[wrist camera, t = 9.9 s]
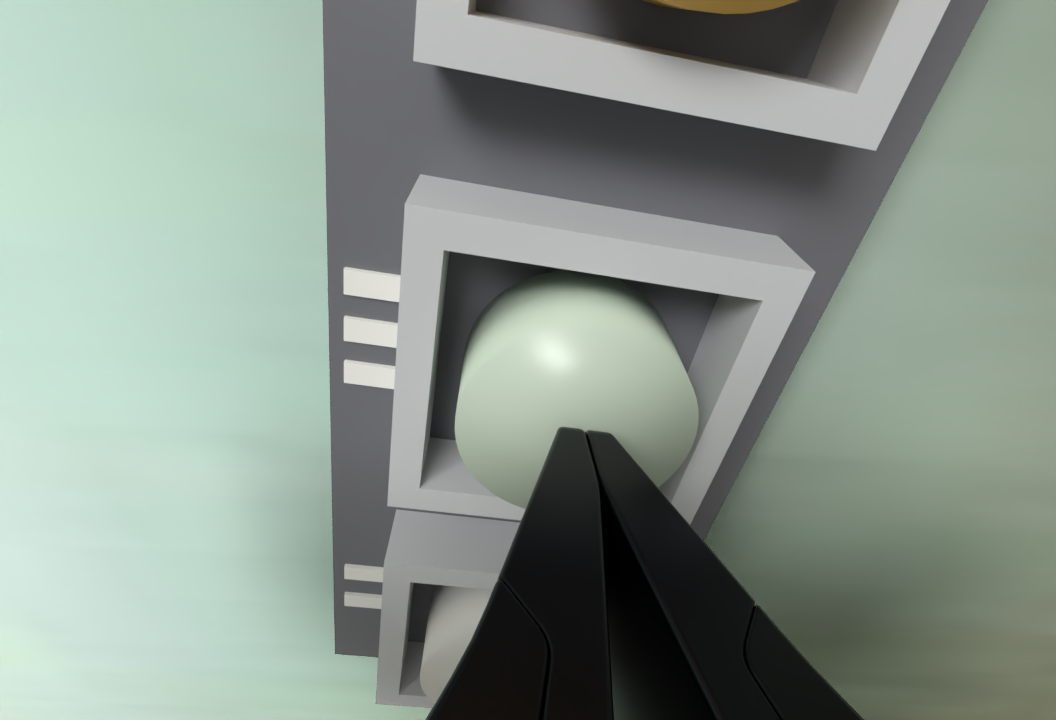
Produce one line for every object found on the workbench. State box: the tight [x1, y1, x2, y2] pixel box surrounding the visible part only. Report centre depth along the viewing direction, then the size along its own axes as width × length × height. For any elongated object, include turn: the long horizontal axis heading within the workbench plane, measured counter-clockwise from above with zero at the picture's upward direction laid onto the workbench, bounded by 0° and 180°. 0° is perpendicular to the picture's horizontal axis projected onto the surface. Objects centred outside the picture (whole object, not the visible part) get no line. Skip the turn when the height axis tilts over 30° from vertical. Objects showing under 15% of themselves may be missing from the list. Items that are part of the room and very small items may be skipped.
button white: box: [420, 585, 492, 703], centre depth 14 cm, size 4×4×2 cm
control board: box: [323, 0, 988, 708], centre depth 11 cm, size 23×9×3 cm, turn 170°
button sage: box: [455, 270, 699, 509], centre depth 10 cm, size 4×4×2 cm
